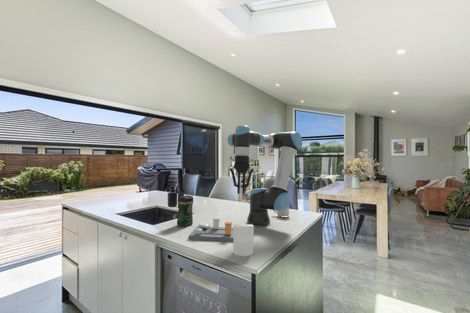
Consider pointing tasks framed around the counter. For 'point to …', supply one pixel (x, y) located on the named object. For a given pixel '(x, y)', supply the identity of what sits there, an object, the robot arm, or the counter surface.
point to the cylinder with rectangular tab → (243, 240)
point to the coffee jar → (185, 211)
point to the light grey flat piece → (204, 224)
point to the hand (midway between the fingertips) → (240, 200)
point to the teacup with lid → (283, 212)
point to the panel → (211, 234)
